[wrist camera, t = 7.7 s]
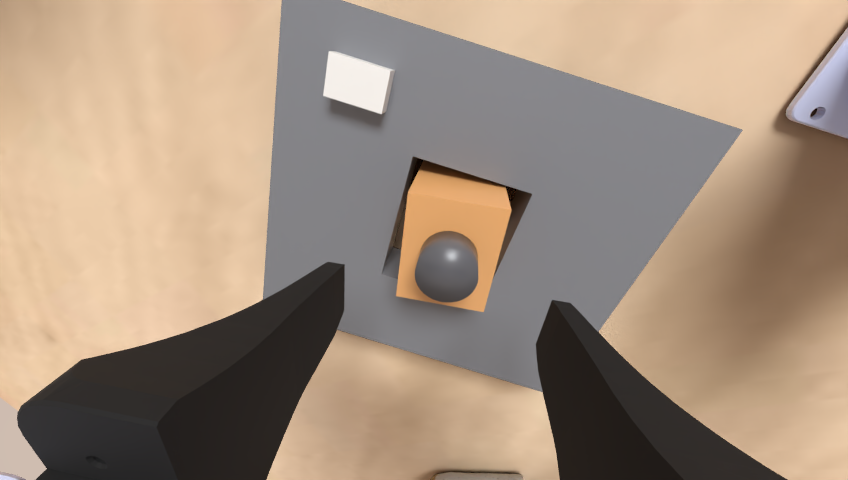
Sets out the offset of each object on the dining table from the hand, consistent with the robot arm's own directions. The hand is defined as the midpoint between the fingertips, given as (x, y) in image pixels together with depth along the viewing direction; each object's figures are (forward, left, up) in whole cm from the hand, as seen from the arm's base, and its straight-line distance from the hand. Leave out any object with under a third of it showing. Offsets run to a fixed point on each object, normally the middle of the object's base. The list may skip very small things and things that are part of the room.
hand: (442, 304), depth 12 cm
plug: (0, 0, -8) cm, 8 cm away
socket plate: (0, 0, -8) cm, 8 cm away
